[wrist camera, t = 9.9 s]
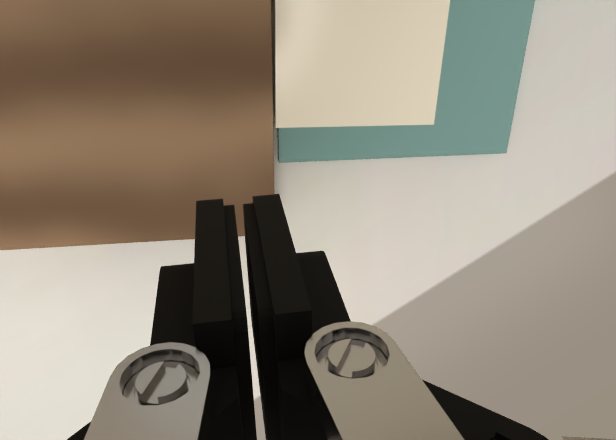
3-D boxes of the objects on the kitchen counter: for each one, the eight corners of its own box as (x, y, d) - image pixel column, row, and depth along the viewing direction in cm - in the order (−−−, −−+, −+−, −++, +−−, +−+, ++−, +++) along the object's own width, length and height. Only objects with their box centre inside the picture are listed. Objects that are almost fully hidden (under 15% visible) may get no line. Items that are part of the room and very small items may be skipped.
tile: (271, -58, 25) (275, -58, 23) (440, -54, 26) (457, -53, 24) (272, 116, 28) (275, 127, 26) (420, 113, 29) (433, 124, 28)
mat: (273, -205, 23) (274, -208, 22) (564, -191, 24) (570, -193, 24) (278, 159, 30) (279, 162, 29) (502, 150, 32) (506, 153, 31)
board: (-101, -191, 21) (-146, -210, 19) (261, -176, 23) (267, -191, 20) (9, 222, 29) (-12, 250, 27) (270, 209, 31) (275, 234, 29)
